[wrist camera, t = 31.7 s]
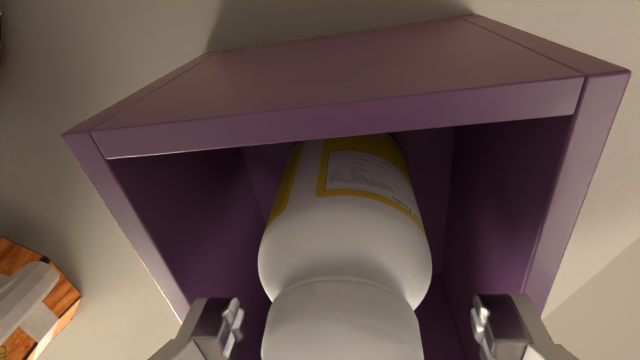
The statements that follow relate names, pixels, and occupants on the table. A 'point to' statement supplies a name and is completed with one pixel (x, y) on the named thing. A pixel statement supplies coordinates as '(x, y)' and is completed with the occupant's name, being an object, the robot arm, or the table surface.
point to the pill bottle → (344, 254)
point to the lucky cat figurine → (0, 39)
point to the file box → (360, 119)
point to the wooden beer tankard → (31, 302)
